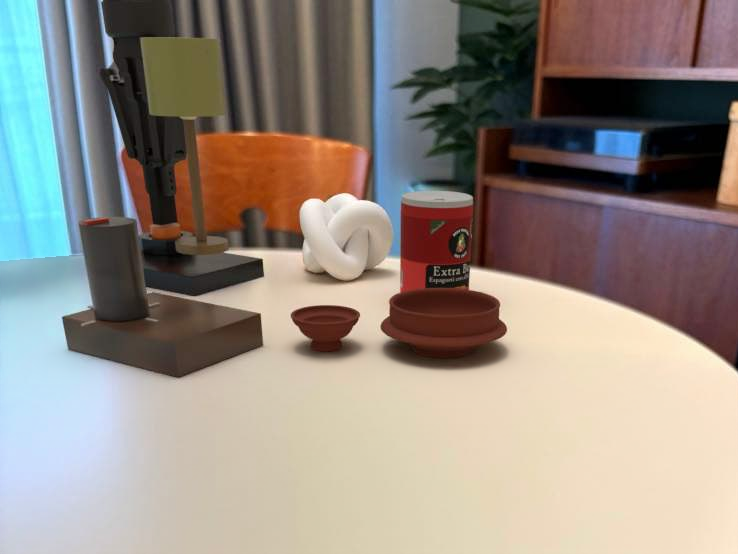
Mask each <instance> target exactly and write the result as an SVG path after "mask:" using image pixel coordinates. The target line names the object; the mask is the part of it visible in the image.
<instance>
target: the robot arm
mask: <svg viewBox="0 0 738 554" xmlns="http://www.w3.org/2000/svg"><path fill="white" fill-rule="evenodd" d="M100 5H101V12H102V18H103V25H104V31H105V34H106V36H107V37H109V38H111V39H112V41H113V50H112V63H110V65H109V67H102V68H101V69H100V70H99V76H100V78H101V80H102V82H103V84H104V85H105V88H106V89H107V91H108V94H109V98H110V102H111V104H112V108H113V111H114V114H115V118H116V121H117V124H118V129H119V131H120V134H121V138H122V141H123V145H124V148H125V152H126V155H127V157H128V159H130V160H133V159H134V160H136V161H137V162H138V163H139V165H140V166H141V168H142V174H143V181H144V188H145V191H146V194H148V198H149V205H150V212H151V213H150V214H151V219H152V224H155V225H166V224H172V223H176V224H178V222H179V221H178V220H179V219H178V214H177V206H176V205H177V204H176V197H175V196H176V195H177V191H178V189H177V182H176V173H175V166H176V164H178V163H179V162H182V161H185V160H186V159H187V151H186V142H185V133H184V124H183V119H182V118H180V117H173V116H155V115H150V113H149V105H148V97H147V89H146V82H145V74H144V66H143V58H142V50H141V42H140V38H141V37H172V38H175V35H176V31H175V30H176V29H175V21H174V12H173V4H172V2H170V0H102V1H100Z"/></svg>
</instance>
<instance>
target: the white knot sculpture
mask: <svg viewBox="0 0 738 554" xmlns="http://www.w3.org/2000/svg"><path fill="white" fill-rule="evenodd" d="M299 224H300V225H299V226H300V229H301V232H302V235H303V238H304V240H303V244H302V248H301V249H302V250H301V256H302V263H303V265H304V267H305V268H306V269H307V270H308V272H311V273H314V274H321V273H324V272H327V273H328V274H329V275H330V276H331V277H333V278H335V279H338V280H340V281H343V282H349V281H353V280H355V279H357V278H358V277H360V276H361V275H362V274H363V272H364V271H368V270H372V269H374V268H376V267H378V266H379V265H381V264H382V263H383V262H384V261H385V260H386V259H387V257H388V256H389V253H390V251H391V249H392V246H393V241H394V228H393V224H392V221H391V218H390V217H389V215H388V213H387V212H386V211H385V209H384V208H383V207H382V206H381V205H379V204H377V203H376V202H373V201H371V200H366V199H365V200H364V199H360V200H359V199H358V198H357V197H355V196H354V195H352V194H350V193H348V192H347V193H345V192H344V193H338V194H336V195H333V196H331V197H330V198H328V199H327V200H326V201H325V202H324V201H323V200H321V199H320V198H309V199H307V200H305V201H304V202H303V203H302V205H301V206H300V208H299Z"/></svg>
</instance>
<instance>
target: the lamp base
mask: <svg viewBox="0 0 738 554" xmlns="http://www.w3.org/2000/svg"><path fill="white" fill-rule="evenodd" d="M180 231H181V237H176V238H152V237H151V231H148V232H143V233H141V234H138V235H139V242H140V249H141V256H142V263H143V270H144V277H145V284H146V288H149V289H153V290H160V291H164V292H170V293H174V294H178V295H179V294H180V295H184V296H188V297H189V296H190V297H198V296H202V295H205V294H209V293H212V292H215V291H220V290H222V289H223V290H224V289H226V288H229V287H233V286H236V285H241V284H244V283H247V282H251V281H253V280H257V279H262V278H264V277H265V269H264V259H263V258H261V257H254V256H248V255H243V254H235V253H228V252H222V253H218V254H210V255H189V254H182V253H179V252H177V251H176V246H175V241H176V240H178V239H181V238H185V237H193V236H194V235H195V234H193V233H192V232H190V231H184V230H180Z"/></svg>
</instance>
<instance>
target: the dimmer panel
mask: <svg viewBox="0 0 738 554" xmlns="http://www.w3.org/2000/svg"><path fill="white" fill-rule="evenodd" d="M147 298H148V305H149V312H150V313H149V314H148V315H147V316H145V317H143V318H139V319H135V320H129V321H104V320H100V319H97V318H96V317H95V315H94V310H93V305H90V304H89V305H87V307H86V309H85V310H81V311H78V312H74V313H70V314H67V315H63V316H61V321H62V325H63V330H64V336H65V342H66V346H67V349H68V350H71V351H75V352H78V353H82V354H85V355H90V356H93V357H97V358H102V359H105V360H108V361H109V360H110V361H113V362H116V363H120V364H125V365H127V366H128V365H129V366H133V367H137V368H141V369H145V370H148V371H152V372H155V373H160V374H165V375H167V376H171V377H176V378H180V377H183V376H186V375H188V374H191V373H193V372H197V371H198V370H201V369H203V368H206V367H210V366H212V365H215V364H217V363H219V362H222V361H224V360H228V359H231V358H233V357H236V356H239V355H241V354H244V353H246V352H249V351H251V350H253V349H257V348H259V347H262V346H264V337H263V323H262V313H261V312H256V311H250V310H246V309H241V308H236V307H229V306H225V305H220V304H215V303H210V302H205V301H200V300H195V299H188V298H186V297H185V298H184V297H181V296H180V297H179V296H174V295H170V294H164V293H160V292H154V291H153V292H149V293H148V292H147Z"/></svg>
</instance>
